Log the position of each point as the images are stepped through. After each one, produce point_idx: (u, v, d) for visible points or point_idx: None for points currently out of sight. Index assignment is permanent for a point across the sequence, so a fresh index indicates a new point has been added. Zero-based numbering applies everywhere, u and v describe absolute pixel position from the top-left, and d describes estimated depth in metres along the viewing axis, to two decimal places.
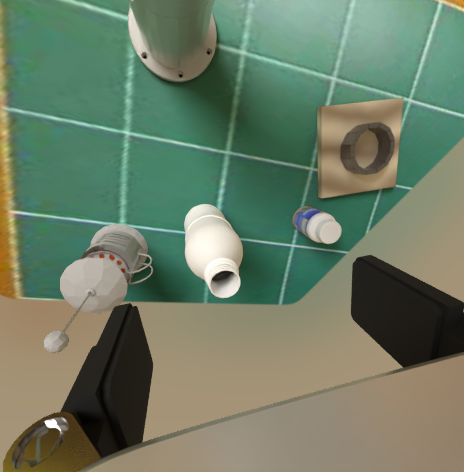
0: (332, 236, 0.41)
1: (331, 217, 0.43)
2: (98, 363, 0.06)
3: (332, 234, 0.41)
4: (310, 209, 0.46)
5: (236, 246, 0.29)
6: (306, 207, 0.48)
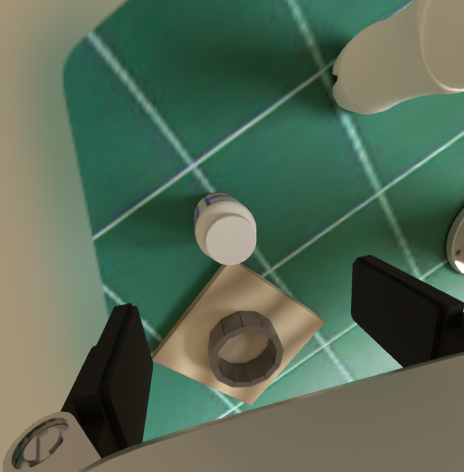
0: (222, 239, 0.19)
1: None
2: (98, 363, 0.06)
3: (225, 242, 0.19)
4: None
5: None
6: None
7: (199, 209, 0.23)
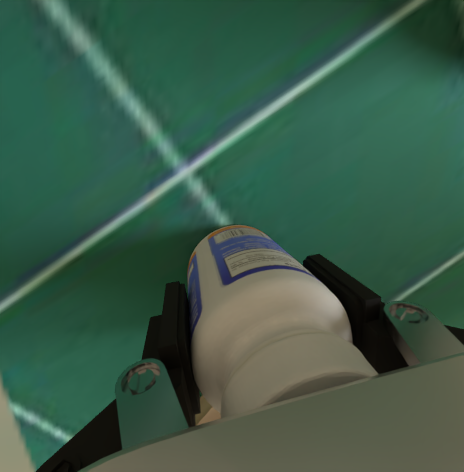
0: None
1: None
2: (170, 324, 0.08)
3: None
4: None
5: None
6: None
7: (200, 277, 0.10)
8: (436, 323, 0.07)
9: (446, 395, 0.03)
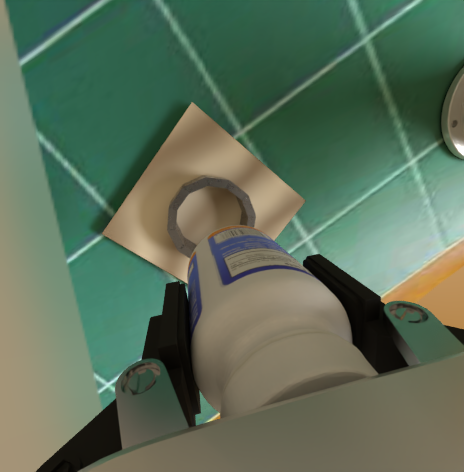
0: None
1: None
2: (170, 324, 0.08)
3: None
4: None
5: None
6: None
7: (200, 277, 0.10)
8: (436, 323, 0.07)
9: (446, 395, 0.03)
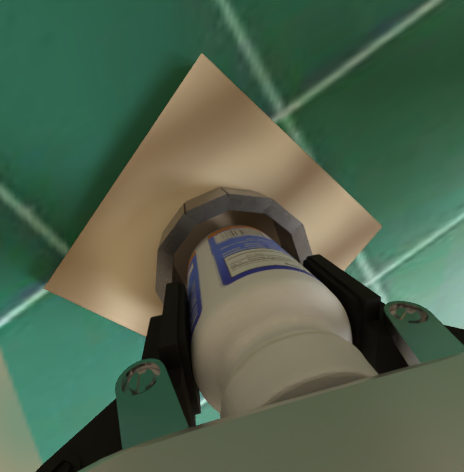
0: None
1: None
2: (170, 324, 0.08)
3: None
4: None
5: None
6: None
7: (200, 277, 0.10)
8: (436, 323, 0.07)
9: (446, 395, 0.03)
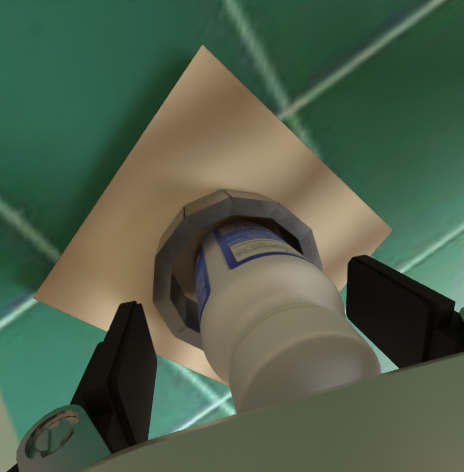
0: (288, 396, 0.06)
1: None
2: (106, 358, 0.07)
3: None
4: None
5: None
6: None
7: (208, 265, 0.11)
8: None
9: (446, 395, 0.03)
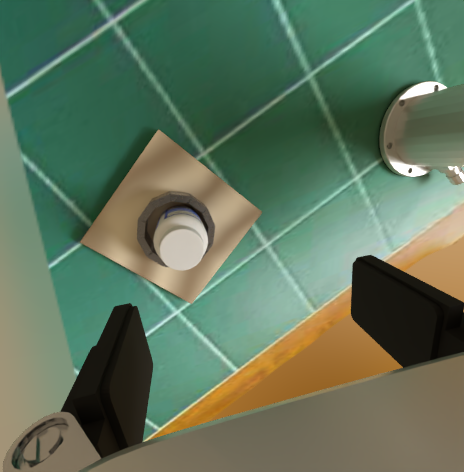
0: (173, 248, 0.22)
1: None
2: (98, 363, 0.06)
3: (177, 251, 0.22)
4: None
5: None
6: None
7: (159, 221, 0.27)
8: None
9: (446, 395, 0.03)
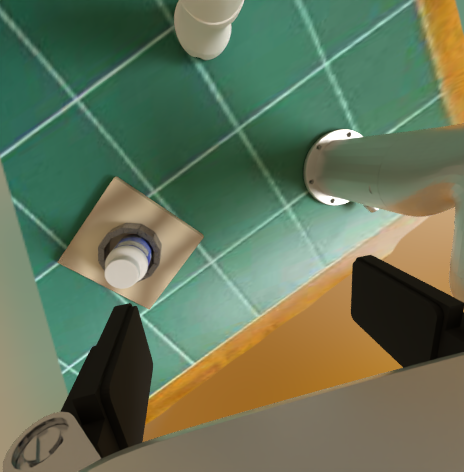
0: (115, 273, 0.30)
1: None
2: (98, 363, 0.06)
3: (117, 275, 0.31)
4: None
5: None
6: None
7: None
8: None
9: (446, 395, 0.03)
